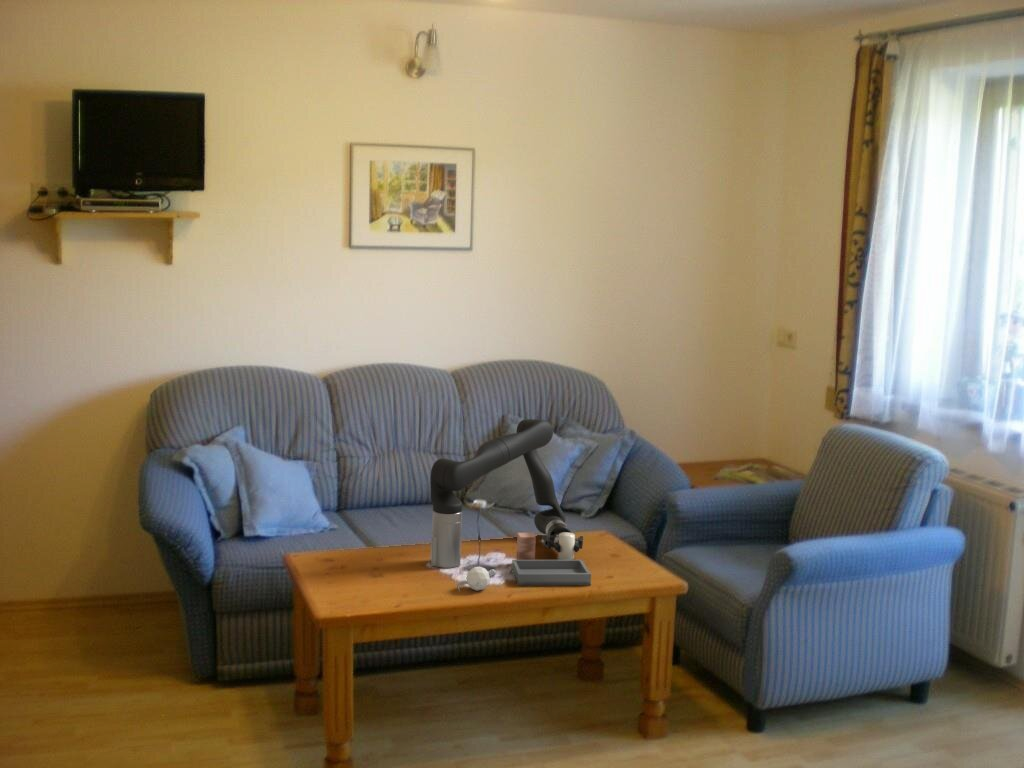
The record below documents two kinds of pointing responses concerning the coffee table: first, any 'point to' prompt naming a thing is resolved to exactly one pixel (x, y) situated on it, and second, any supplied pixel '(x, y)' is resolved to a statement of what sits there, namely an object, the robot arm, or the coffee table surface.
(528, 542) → the coral block
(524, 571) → the tray
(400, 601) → the coffee table surface
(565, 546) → the cream cylinder
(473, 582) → the alien figurine
